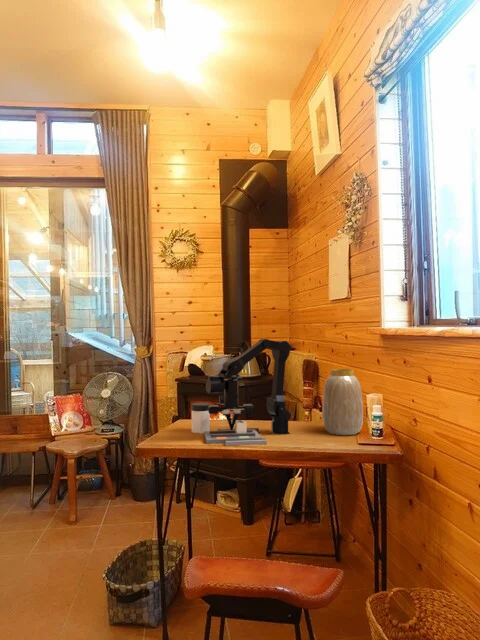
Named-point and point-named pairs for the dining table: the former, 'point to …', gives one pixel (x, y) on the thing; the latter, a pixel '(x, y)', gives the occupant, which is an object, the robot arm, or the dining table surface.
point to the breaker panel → (229, 436)
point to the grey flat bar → (245, 442)
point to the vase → (342, 403)
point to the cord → (247, 429)
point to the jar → (200, 417)
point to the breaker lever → (240, 426)
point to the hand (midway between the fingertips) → (231, 429)
